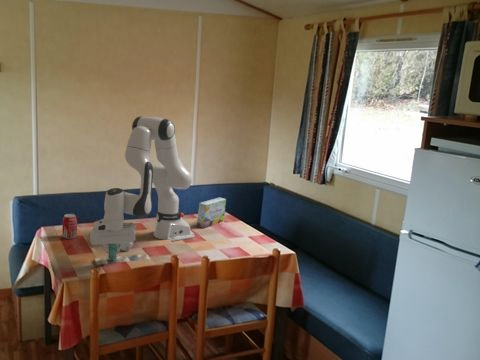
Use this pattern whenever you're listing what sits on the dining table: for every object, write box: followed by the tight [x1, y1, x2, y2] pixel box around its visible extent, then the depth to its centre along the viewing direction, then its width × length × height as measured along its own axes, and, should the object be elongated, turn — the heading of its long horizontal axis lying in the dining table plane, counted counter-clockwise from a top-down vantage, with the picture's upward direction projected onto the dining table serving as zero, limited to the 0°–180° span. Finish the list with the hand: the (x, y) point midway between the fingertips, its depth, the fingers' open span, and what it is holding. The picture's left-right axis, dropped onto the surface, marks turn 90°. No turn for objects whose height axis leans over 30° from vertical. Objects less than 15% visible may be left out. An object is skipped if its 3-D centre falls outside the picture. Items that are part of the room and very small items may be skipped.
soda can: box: [62, 213, 78, 240], centre depth 244 cm, size 7×7×12 cm
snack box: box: [196, 196, 227, 229], centre depth 287 cm, size 21×6×15 cm, turn 147°
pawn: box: [107, 244, 118, 259], centre depth 219 cm, size 4×4×8 cm
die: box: [116, 242, 134, 252], centre depth 234 cm, size 8×9×10 cm
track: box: [92, 253, 151, 268], centre depth 222 cm, size 26×7×1 cm, turn 117°
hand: (112, 252), depth 219 cm, fingers closed on pawn, 4 cm apart
